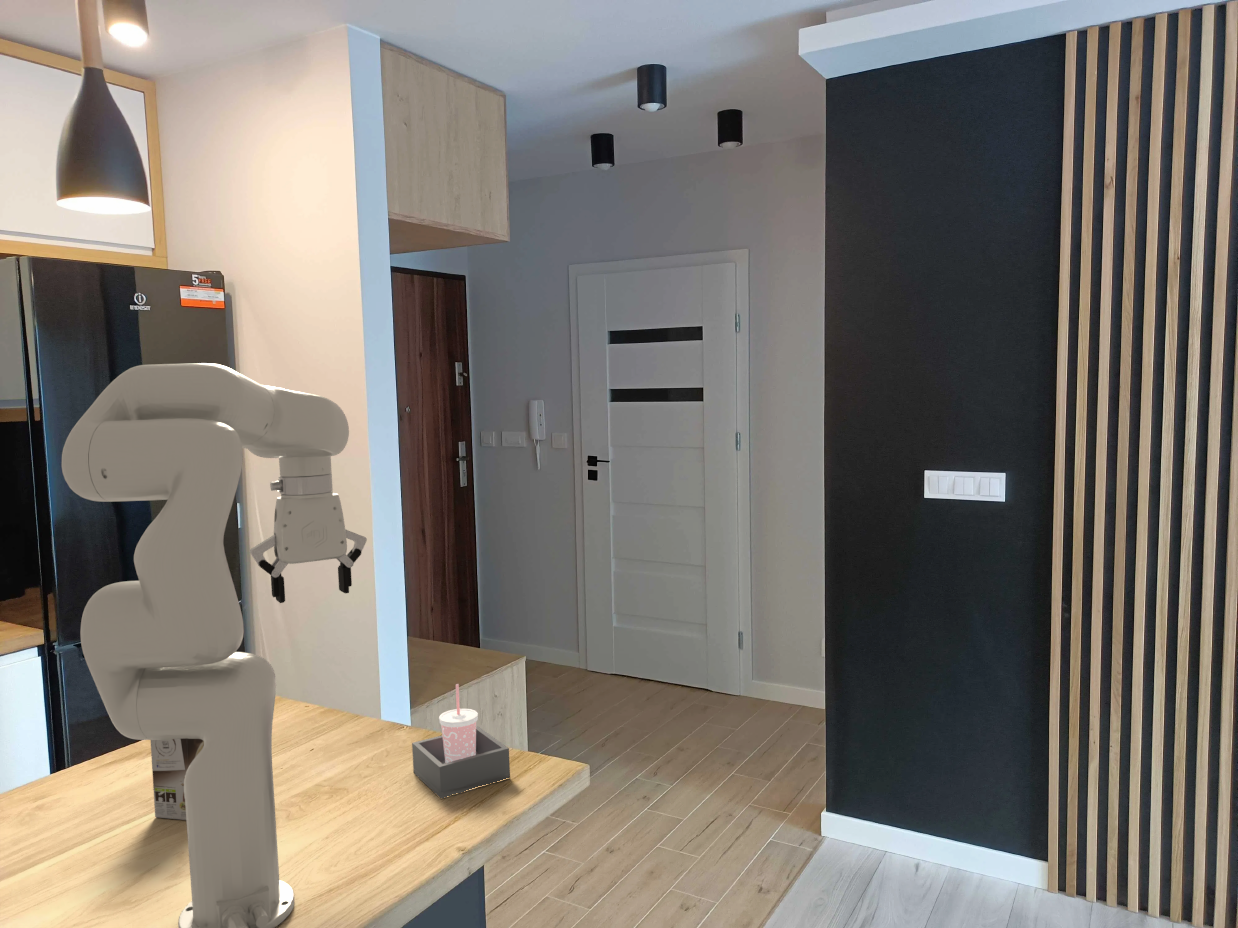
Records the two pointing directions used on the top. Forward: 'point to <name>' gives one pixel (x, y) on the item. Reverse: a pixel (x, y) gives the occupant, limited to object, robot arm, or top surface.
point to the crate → (460, 765)
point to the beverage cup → (458, 732)
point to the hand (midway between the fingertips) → (312, 596)
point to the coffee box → (172, 774)
